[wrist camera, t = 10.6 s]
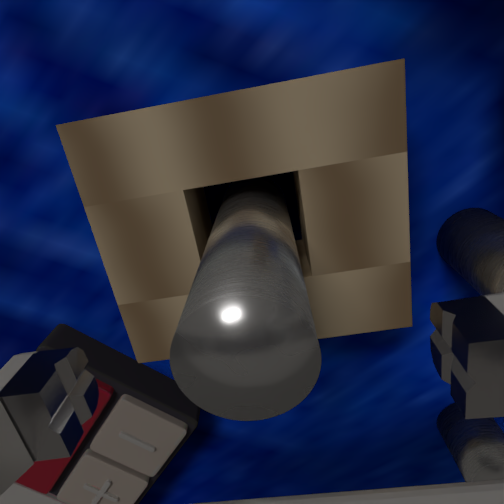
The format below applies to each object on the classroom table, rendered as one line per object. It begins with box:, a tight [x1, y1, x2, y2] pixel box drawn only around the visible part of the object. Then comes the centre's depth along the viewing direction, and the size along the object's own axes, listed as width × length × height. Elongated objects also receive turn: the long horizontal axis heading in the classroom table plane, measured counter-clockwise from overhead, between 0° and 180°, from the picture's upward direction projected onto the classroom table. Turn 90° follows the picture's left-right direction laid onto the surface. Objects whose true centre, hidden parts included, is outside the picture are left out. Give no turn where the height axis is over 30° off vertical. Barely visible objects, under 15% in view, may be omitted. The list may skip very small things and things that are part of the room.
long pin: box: [170, 176, 321, 421], centre depth 16 cm, size 4×4×14 cm
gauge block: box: [56, 58, 412, 363], centre depth 20 cm, size 14×12×5 cm
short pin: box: [437, 403, 504, 482], centre depth 26 cm, size 4×4×5 cm
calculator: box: [0, 324, 200, 504], centre depth 28 cm, size 11×4×15 cm
